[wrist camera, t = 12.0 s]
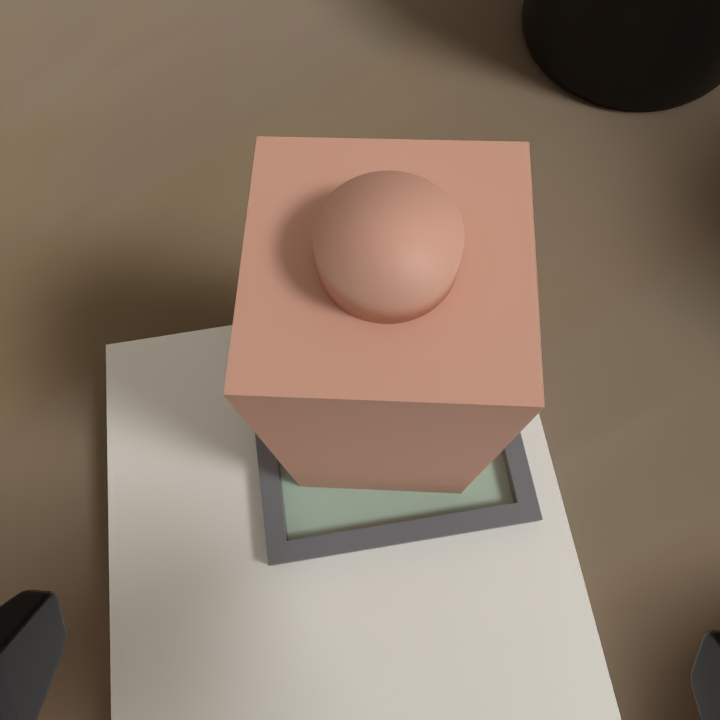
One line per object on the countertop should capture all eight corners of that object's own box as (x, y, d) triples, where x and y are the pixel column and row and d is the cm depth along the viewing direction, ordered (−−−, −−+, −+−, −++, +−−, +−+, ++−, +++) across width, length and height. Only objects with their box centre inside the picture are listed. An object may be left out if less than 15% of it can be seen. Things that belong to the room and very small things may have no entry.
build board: (679, 990, 16) (716, 1041, 14) (136, 1094, 15) (106, 1159, 13) (496, 295, 22) (506, 271, 21) (119, 354, 22) (98, 335, 20)
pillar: (460, 493, 19) (559, 391, 9) (299, 486, 19) (210, 379, 9) (459, 343, 20) (540, 109, 10) (311, 338, 21) (247, 104, 10)
